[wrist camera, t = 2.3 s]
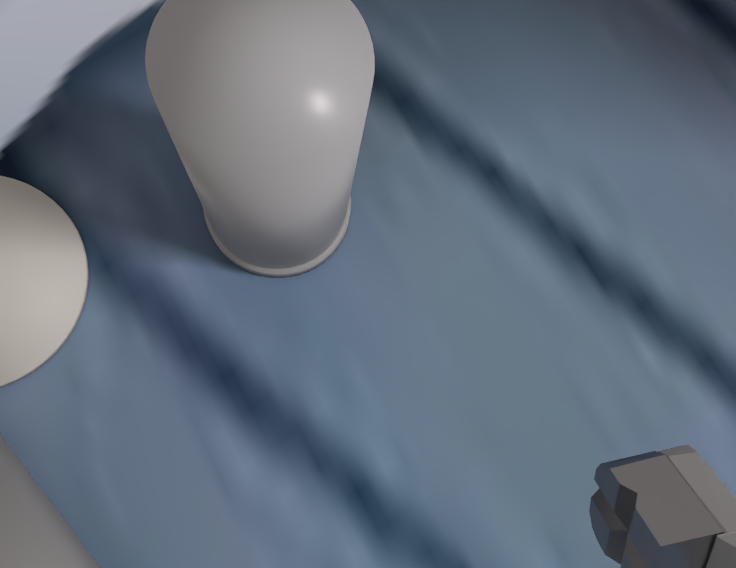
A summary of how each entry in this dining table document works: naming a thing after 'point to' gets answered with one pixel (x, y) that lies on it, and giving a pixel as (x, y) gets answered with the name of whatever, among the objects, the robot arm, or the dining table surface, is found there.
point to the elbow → (265, 120)
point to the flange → (36, 278)
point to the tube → (33, 523)
